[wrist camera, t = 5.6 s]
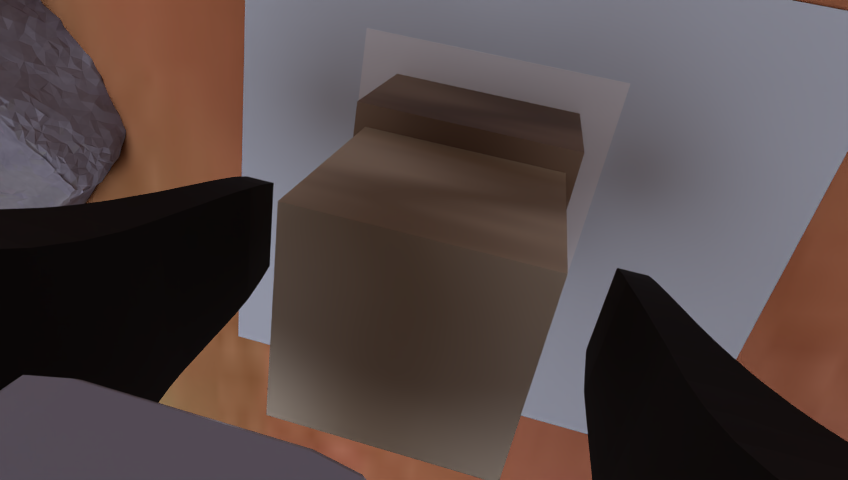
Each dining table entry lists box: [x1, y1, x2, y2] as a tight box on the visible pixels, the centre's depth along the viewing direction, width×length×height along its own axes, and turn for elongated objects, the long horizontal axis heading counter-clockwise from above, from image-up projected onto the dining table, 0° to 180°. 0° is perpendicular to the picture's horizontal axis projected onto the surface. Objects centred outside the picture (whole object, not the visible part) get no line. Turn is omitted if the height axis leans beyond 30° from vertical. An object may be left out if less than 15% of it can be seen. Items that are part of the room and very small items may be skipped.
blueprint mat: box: [239, 0, 848, 434], centre depth 17 cm, size 16×14×1 cm
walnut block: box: [353, 74, 584, 210], centre depth 15 cm, size 5×5×4 cm
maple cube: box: [266, 127, 568, 480], centre depth 12 cm, size 4×4×4 cm
